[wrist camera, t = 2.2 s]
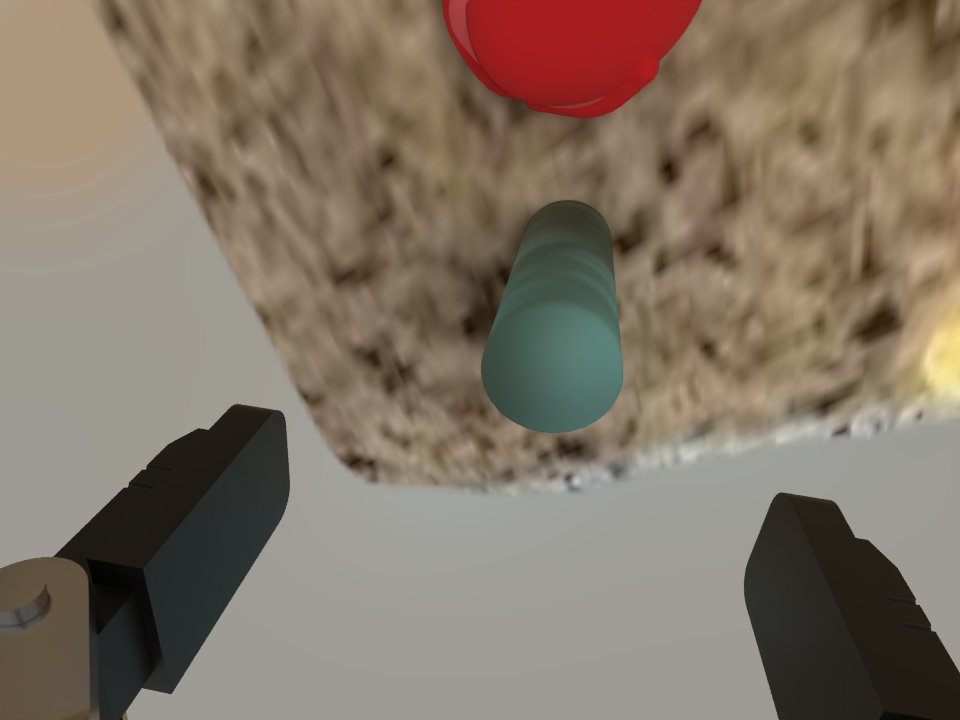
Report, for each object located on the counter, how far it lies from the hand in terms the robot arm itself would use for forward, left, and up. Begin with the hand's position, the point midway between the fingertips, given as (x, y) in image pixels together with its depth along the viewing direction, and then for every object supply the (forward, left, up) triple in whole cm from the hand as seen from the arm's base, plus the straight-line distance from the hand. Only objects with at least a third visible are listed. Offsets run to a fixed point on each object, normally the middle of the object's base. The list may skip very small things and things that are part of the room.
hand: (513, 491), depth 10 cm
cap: (0, -8, -15) cm, 17 cm away
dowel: (0, 0, -14) cm, 14 cm away
